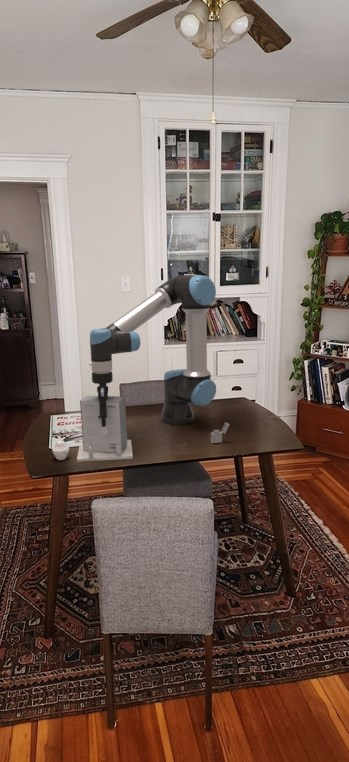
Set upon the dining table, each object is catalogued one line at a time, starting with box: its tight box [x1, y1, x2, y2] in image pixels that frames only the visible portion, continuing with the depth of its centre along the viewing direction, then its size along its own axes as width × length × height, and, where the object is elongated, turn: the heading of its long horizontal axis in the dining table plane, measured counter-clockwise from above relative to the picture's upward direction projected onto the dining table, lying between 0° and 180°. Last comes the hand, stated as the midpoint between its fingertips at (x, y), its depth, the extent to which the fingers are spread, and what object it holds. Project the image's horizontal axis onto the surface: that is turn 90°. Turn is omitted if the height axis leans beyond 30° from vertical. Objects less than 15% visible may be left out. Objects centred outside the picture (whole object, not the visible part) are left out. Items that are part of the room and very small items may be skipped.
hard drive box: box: [79, 395, 128, 453], centre depth 183 cm, size 16×8×20 cm, turn 79°
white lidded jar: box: [52, 440, 70, 461], centre depth 179 cm, size 6×6×7 cm
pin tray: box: [76, 439, 134, 463], centre depth 185 cm, size 20×18×5 cm
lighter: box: [210, 422, 230, 444], centre depth 193 cm, size 7×2×8 cm, turn 103°
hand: (104, 430), depth 184 cm, fingers closed on hard drive box, 9 cm apart
